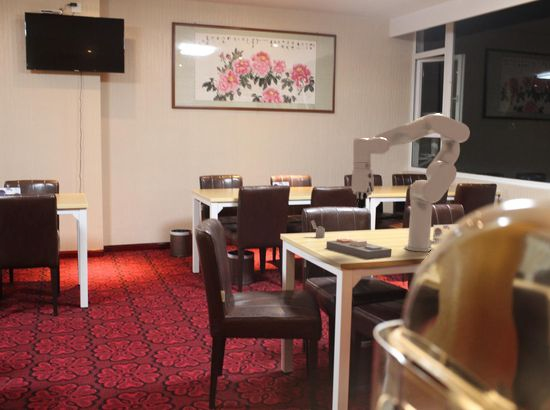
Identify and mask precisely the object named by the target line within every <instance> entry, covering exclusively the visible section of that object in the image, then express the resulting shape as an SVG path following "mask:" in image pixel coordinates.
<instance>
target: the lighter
mask: <svg viewBox="0 0 550 410" xmlns="http://www.w3.org/2000/svg"><path fill="white" fill-rule="evenodd" d="M310 223H311V226H312V229H313V230H315V238H325V234H326V233H325V231H326V230H325V229H326V228H324V227H323V226H317V224H316V222H315V220H314V219H313V220H311V221H310Z"/></svg>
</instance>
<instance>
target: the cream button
mask: <svg viewBox="0 0 550 410" xmlns="http://www.w3.org/2000/svg"><path fill="white" fill-rule="evenodd" d="M367 243H368V241H367V240H363V239H359V238H358V239H351V240H350V245H353V246H357V247H361V246H367Z"/></svg>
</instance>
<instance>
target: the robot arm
mask: <svg viewBox="0 0 550 410" xmlns="http://www.w3.org/2000/svg"><path fill="white" fill-rule="evenodd" d="M432 134H436V135H437V134H438V135H440V140H441V146H440V147H441V148H440V150H439V151H438V153H437V154H436V156H435V157H433V160H432V161H431V162H430V163H429V165H428V166H427V168H426V171H425V176H426V178H427V179H428V180H426V179H419V180H415V181H414V182H413V183H412V184H411V185H410V188H409V199H410V207H409V208H410V211H409V224H408V225H409V226H408V228H409V229H408V242H407V243H408V244H405V245H404V249H405V250H408V251H413V252H424V253H425V252H431V251H430V250H432V249H433V250H434V247H432V245H436V244H437V241H436V240H435V239H433V240H432V239H431V233H432V231H431V229H432V215H433V205H432V204H435V203H437V202H439V201H440V200H441V199H442V198H443V197H444V195H445V194H446V193H447V191H448V189H449V188H450V187H451V186H452V184H453V183H454V181H455V180H456V177H457V168H456V166H455V163H456V162H457V160H458V158H459V156H460V152H461V149H460V143H465V142H466V141H467V140H468V139H469V137H470V136H471V135H470V134H471V132H470V128H469V126H468V125H466V124H465V123H463V122H461V121H458V120H456V119H453V118H451V117H449V116H447V115H444V114H441V113H429V114H425V115H424V116H421V117H419V118H416V119H413V120H412V121H409V122H408V123H405V124H402V125H399V126H396V127H393V128H392V129H388V130H386V131H383V132H381V133H379V134H376V135H373V136H371V137H369V138H368V137H359V138H355V139H353V145H352V147H353V149H352V150H353V151H352V152H353V153H352V154H353V162H352V164H353V165H352V166H353V168H352V173H351V190H352V194H354V195H355V196H356V199H357V208H358V209H366V208H367V199H368V197H369V196H371V195H372V193H373V192H374V189H375V186H374V184H375V183H374V173H373V170H372V163H371V161H372V159H371V156H372V155H385V154H387V153H388V152H389V150H390V148H392V147H395V146H400V145H406V144H410V143H414V142H415V141H417V140H420V139H422V138H424V137H428V136H430V135H432ZM433 250H432V251H433Z"/></svg>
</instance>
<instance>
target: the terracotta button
mask: <svg viewBox="0 0 550 410" xmlns="http://www.w3.org/2000/svg"><path fill="white" fill-rule="evenodd" d="M336 241H337V242H341V243H350V240H349V239H348V238H337V239H336Z"/></svg>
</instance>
